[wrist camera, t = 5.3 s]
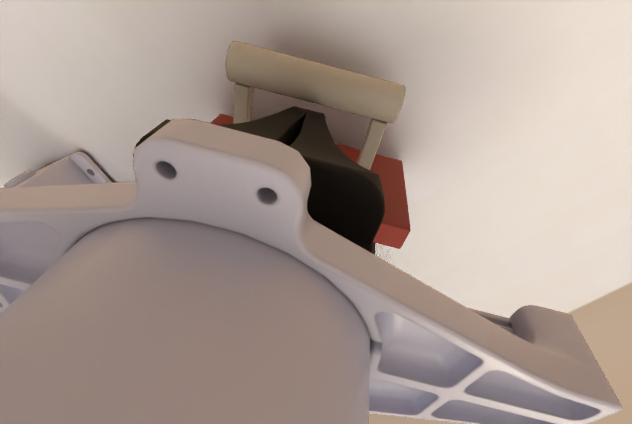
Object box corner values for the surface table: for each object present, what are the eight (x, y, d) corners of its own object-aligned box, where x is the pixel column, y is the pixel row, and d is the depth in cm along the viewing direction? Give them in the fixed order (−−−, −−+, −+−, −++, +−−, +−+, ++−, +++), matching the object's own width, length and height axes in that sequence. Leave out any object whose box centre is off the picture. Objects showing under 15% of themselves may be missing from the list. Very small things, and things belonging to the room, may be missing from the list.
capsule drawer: (219, 14, 14) (145, 37, 9) (441, 72, 14) (471, 123, 9) (220, 250, 24) (185, 315, 20) (347, 283, 24) (340, 355, 20)
